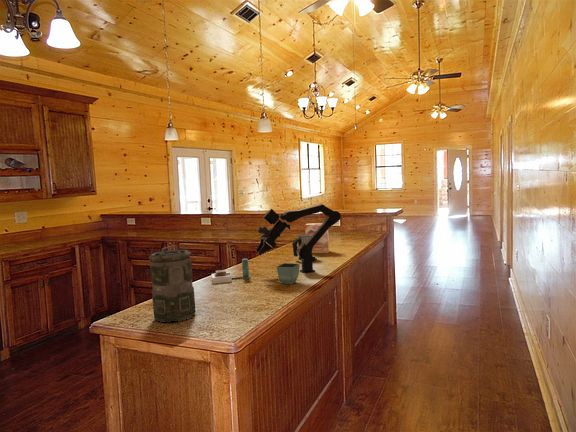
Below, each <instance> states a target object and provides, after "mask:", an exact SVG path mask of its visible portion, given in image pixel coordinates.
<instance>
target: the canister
mask: <svg viewBox="0 0 576 432" xmlns="http://www.w3.org/2000/svg"><path fill="white" fill-rule="evenodd" d="M172 248H175V249H172ZM168 249H171V250H168ZM191 255H192V254H191V251H189V249H186V248H178V245H176V244H174V245H170V246H165V247H163V248H161V250H159V251H154V253H152V254H151V255H149V256H148V260H149V263H150V264H149V270H150V271H149V272H150V281H151V286H152V293H151V294H152V295H151V296H152V297H151V298H152V299H151V300H152V306H153V307H152V310H153V318H154V320H155V321H156V320H157V321H156V322H158V321H160V322H159V323H161V322H167V323H172V322H171V321H175V322H178V321H181V322H183V321H182V320H184V321H186V319H187V320H189V318H190V319H191V318H192V316H194V315H195V314H196V311H197V310H196V300H195V299H196V297H195V287H194V286H193V277H194V276H193V266H192V264H193V263H192V260H191Z"/></svg>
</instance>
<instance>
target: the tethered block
mask: <svg viewBox="0 0 576 432" xmlns="http://www.w3.org/2000/svg"><path fill="white" fill-rule="evenodd" d="M241 266H242V267H241V268H242V276H238V277H237V276H236V277H231V280H238V279H239V280H240V279H242V280H249V279H251V275H250V272H249V258H243V259H241ZM226 272H227V271H226V269H220V270H215V273H216V277H220V276H226Z"/></svg>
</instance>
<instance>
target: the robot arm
mask: <svg viewBox="0 0 576 432" xmlns="http://www.w3.org/2000/svg"><path fill="white" fill-rule="evenodd" d="M318 213H322V214H323V215H324V216H325V218H324V221H323V222H321V223H322V225H321V226H320V227H319V228H318V229H317V231H316V232H315V233H314V234H313V235H312V236H311V238H310V239H309V240H308V241H307V242H306V243H303V242H302V243H301V244H300V246H298V245H297V255H298V256H297V257H298V258H299V257H300V258H301V259H300V260H301V269H299V273H300V272H301V273H304V274H308V273H312V272H313V273H314V272H316V270H315V269H314V266H313V265H314V264H313V262H314V261H313V259H314V257H315V256H314V255H313V256H311V255H310V253H311V251H312V249H313V247H314V245H315V244H316V243H317V242H318V241H319V239H320V238H321V237H322V236H323V235H324V233H325V232H326V231H327V230H328V231H329V229H330V228H331V227H332V226H334V225H336V224H337V223H338V222H339V221H341V218H342V215H341V213H340V211H338V210H334V209H331V208H330V207H328V206H326V205H325V204H323V203H320V204H317V205H314V206H310V207H306V208H302V209H298V210H296V209H295V210H286V211H284V212H283V213H280V214H278V213H277V212H276V211H275V210H274V209H273V208H270V209H269V210H268V211H267V212H266V213H265V214H264V215H263V216H262V219H264V221H266V222H267V223H268V224H269V225H273V226H272V227H270V228H268V227H266V226H261V225H258V228H257V233H259V234H261V235H260V238H259V239H260V242H259V244H258V246H257V248H256V250H255V251H256V252H257V253H258V255H262V254H265V253H266V252H269V251H271V250H273V249H275V248H276V247H277V242H276V241H277V240H278V238H281V235H282V233H283V232H284V231H285V230H286V229H287V230H291V224H290V223H293V222H296V221H298V220H299V219H301V218H305V217H307V216H311V215H315V214H318ZM282 220H283V221H282Z"/></svg>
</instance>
